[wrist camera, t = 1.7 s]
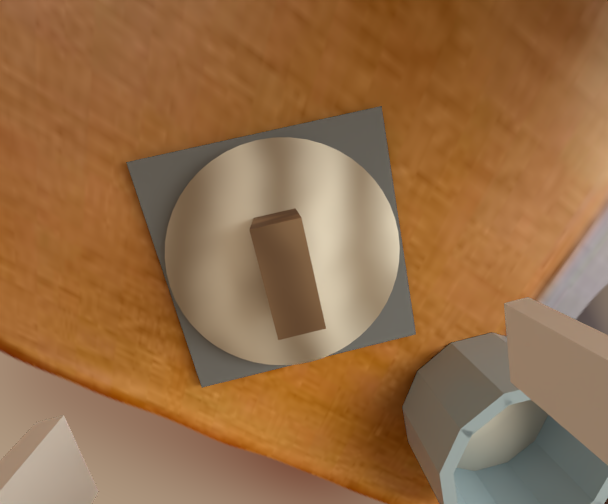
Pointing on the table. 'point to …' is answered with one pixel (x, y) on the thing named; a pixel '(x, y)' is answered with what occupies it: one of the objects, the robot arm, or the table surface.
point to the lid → (282, 251)
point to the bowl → (493, 434)
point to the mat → (187, 163)
